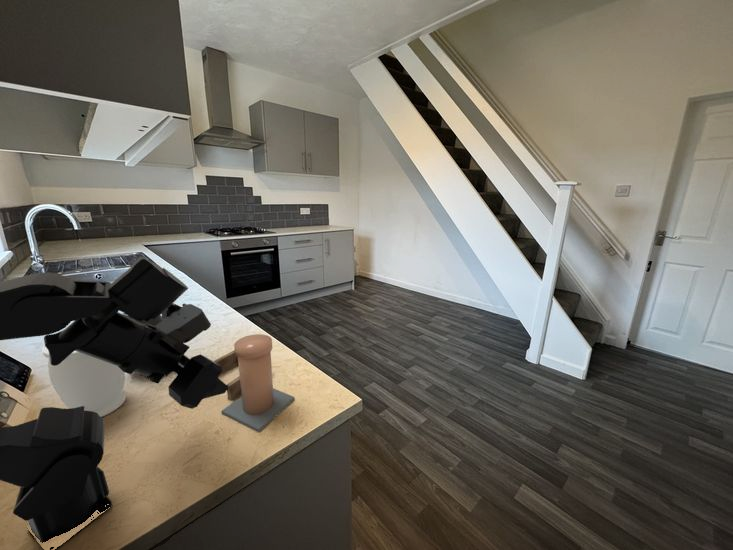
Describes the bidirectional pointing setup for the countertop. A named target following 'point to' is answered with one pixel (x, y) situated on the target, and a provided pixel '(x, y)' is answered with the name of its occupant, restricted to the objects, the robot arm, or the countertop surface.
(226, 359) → the frame
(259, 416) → the mat
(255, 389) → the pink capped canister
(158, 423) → the countertop surface
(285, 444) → the countertop surface
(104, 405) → the jar
